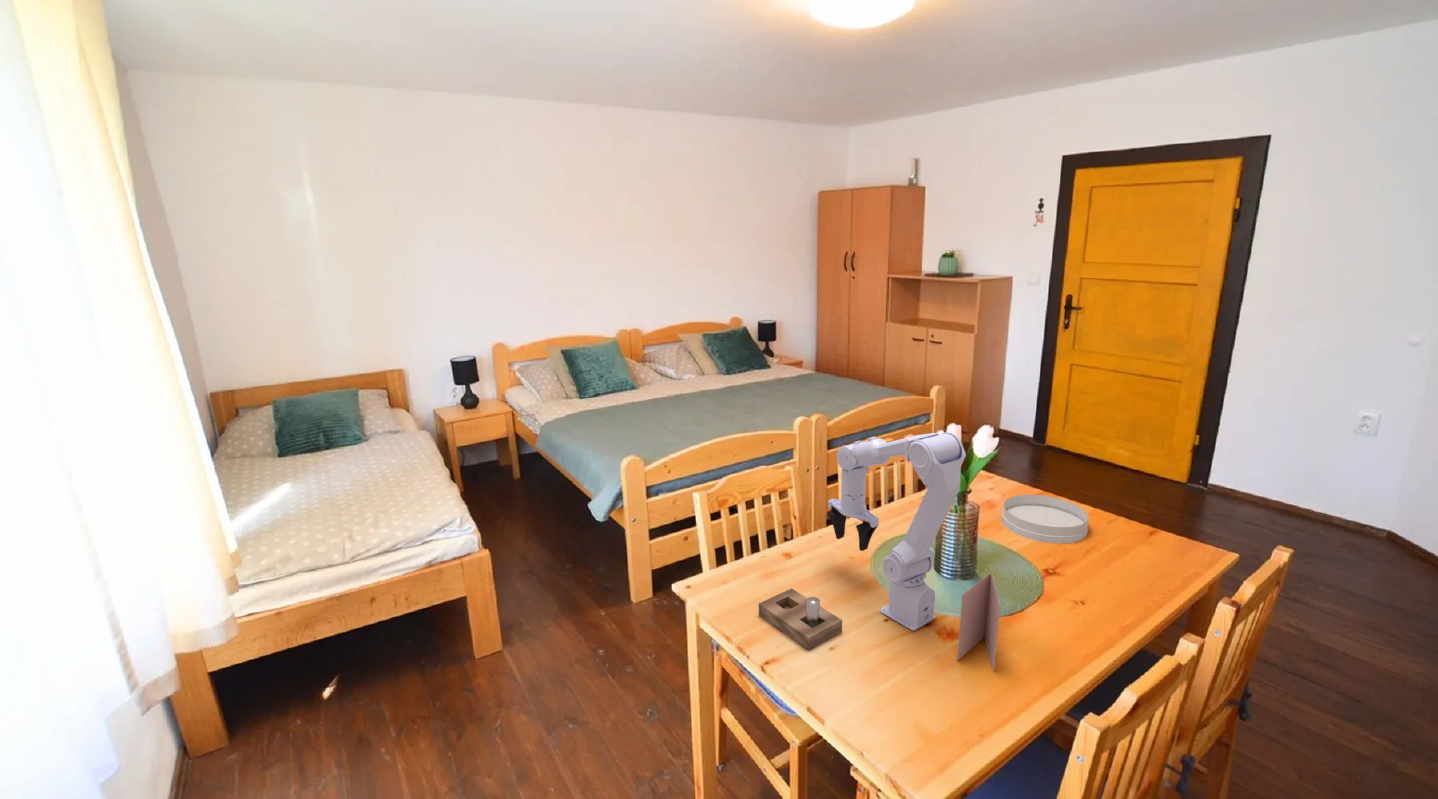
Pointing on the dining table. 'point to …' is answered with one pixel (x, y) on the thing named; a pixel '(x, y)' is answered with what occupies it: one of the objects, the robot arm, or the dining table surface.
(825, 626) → the hole block
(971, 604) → the greeting card
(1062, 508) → the dish
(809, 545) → the dining table surface
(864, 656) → the dining table surface
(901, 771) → the dining table surface
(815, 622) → the pin
